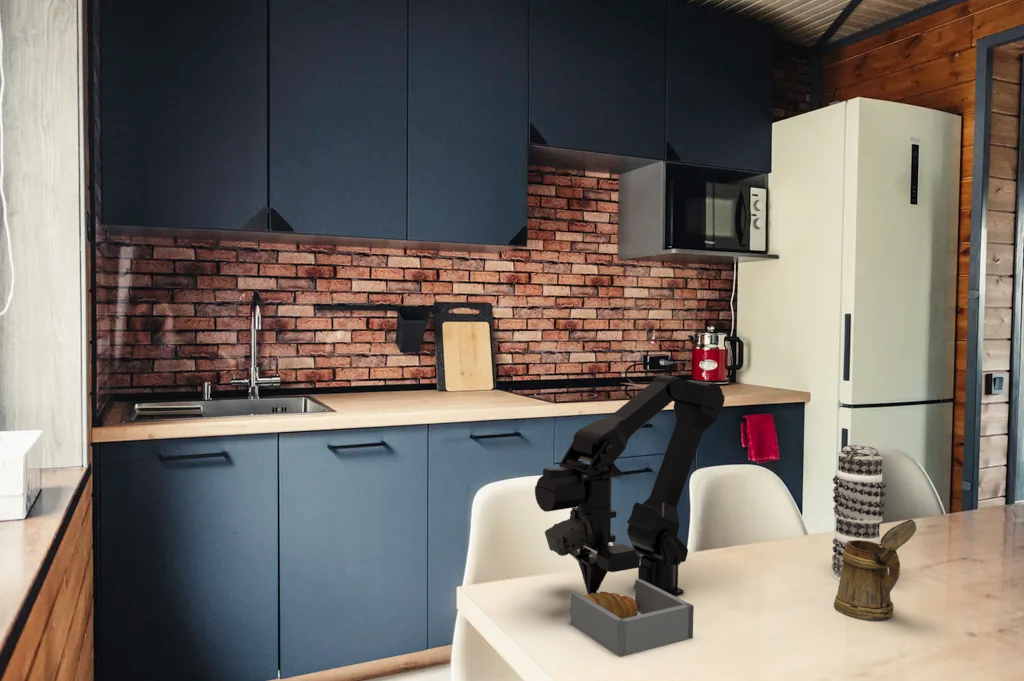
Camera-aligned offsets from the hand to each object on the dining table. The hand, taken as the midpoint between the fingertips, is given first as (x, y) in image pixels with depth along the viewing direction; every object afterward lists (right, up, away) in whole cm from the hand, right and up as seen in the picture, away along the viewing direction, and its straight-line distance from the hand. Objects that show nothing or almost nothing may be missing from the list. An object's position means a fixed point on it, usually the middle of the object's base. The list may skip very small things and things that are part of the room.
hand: (591, 595), depth 129 cm
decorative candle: (+52, -2, +16) cm, 54 cm away
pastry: (+2, -3, -3) cm, 5 cm away
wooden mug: (+47, -3, -1) cm, 47 cm away
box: (+5, -3, -9) cm, 11 cm away
